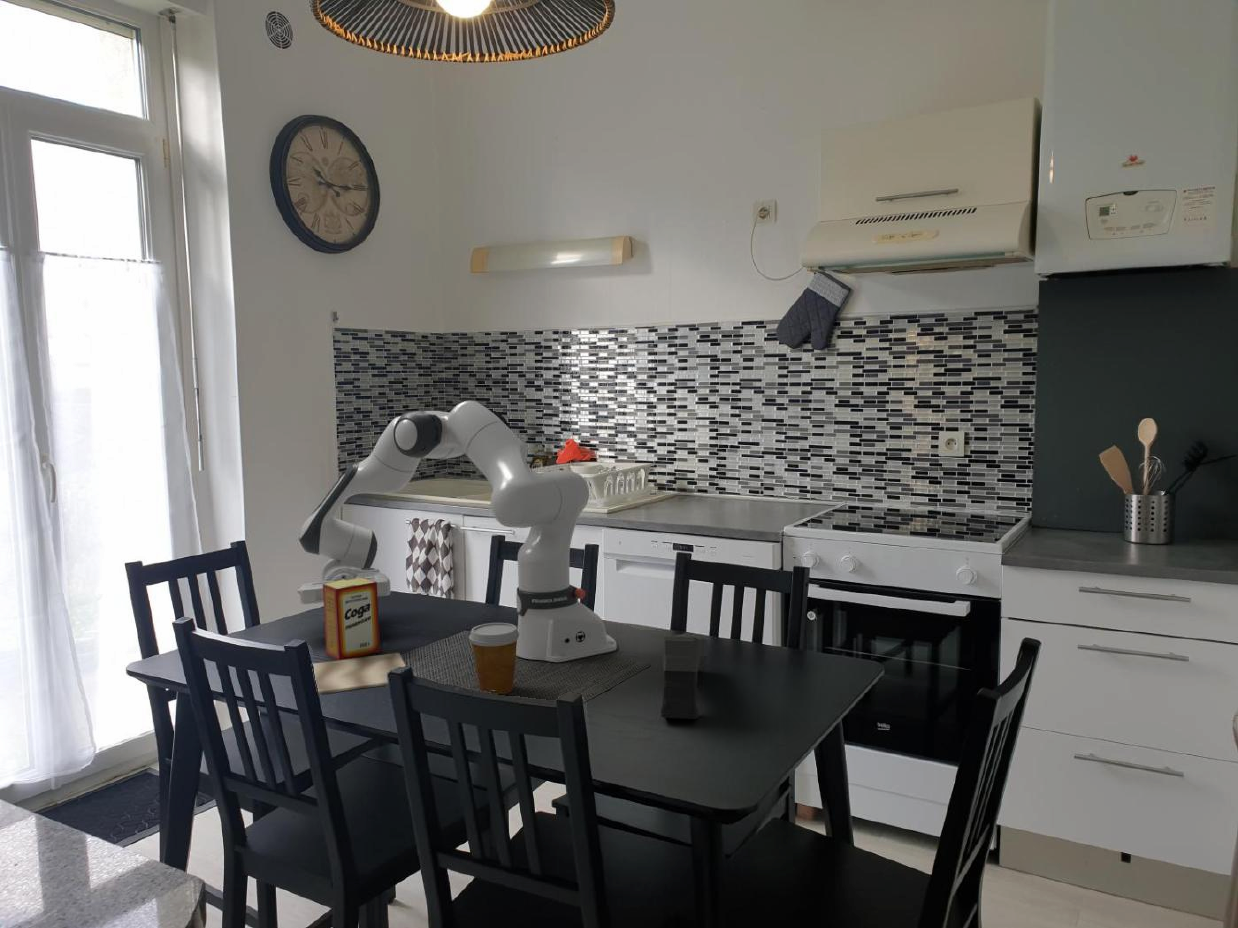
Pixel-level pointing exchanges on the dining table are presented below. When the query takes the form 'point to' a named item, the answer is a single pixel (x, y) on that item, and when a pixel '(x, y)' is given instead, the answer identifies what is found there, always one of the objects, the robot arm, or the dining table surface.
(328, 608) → the baking soda box
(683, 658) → the dark grey upright block
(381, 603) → the dining table surface
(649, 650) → the dining table surface
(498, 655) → the disposable coffee cup
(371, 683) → the oak board
